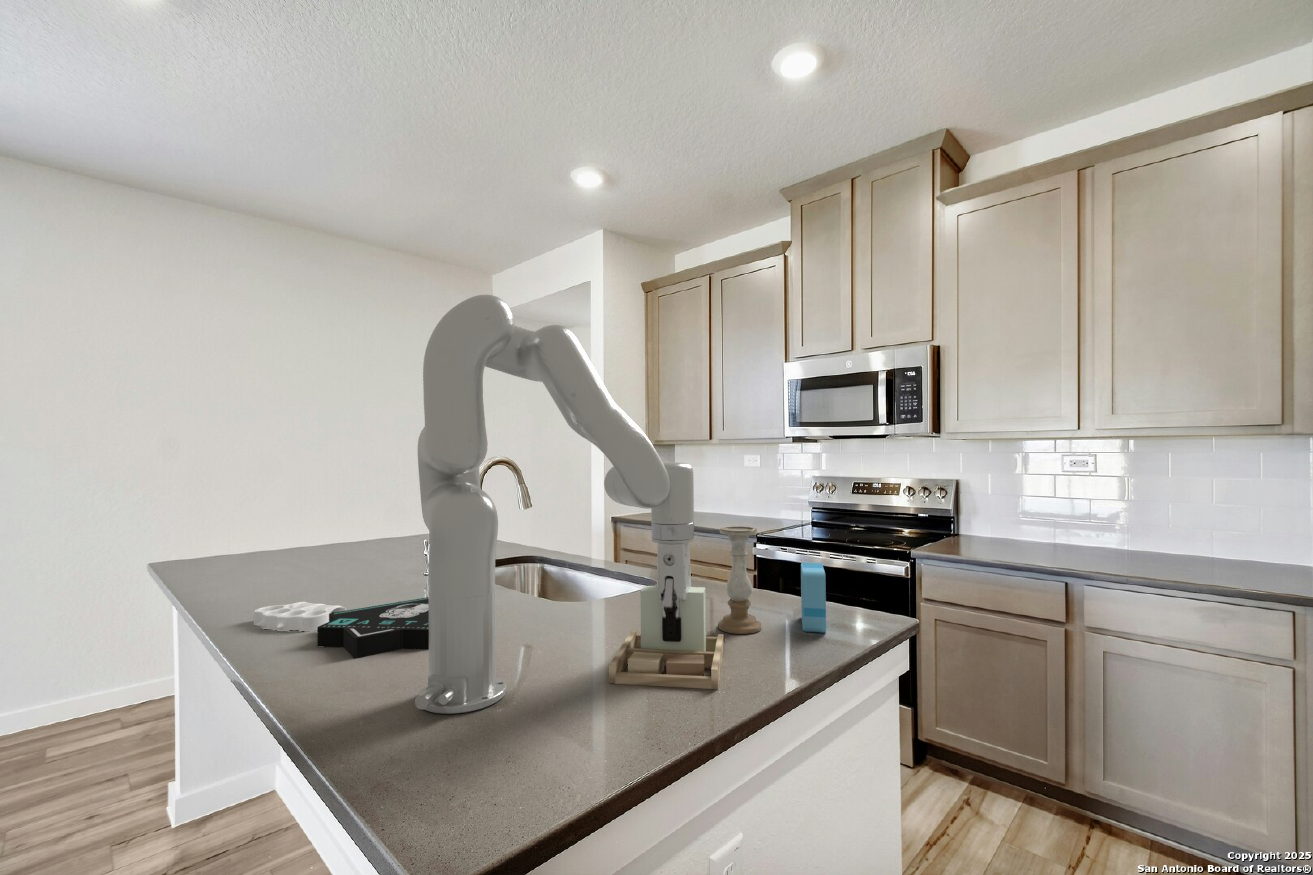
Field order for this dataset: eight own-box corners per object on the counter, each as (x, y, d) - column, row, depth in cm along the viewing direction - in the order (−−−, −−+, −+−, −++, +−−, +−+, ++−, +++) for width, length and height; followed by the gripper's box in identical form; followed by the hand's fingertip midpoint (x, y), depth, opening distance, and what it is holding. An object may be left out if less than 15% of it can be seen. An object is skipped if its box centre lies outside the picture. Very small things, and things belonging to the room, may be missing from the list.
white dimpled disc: (357, 619, 134) (297, 638, 120) (297, 612, 140) (234, 630, 126) (357, 604, 134) (297, 621, 120) (297, 597, 140) (234, 614, 126)
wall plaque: (436, 662, 106) (497, 615, 136) (436, 639, 106) (497, 597, 136) (276, 658, 109) (371, 613, 139) (276, 636, 109) (371, 595, 139)
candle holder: (720, 635, 119) (719, 531, 119) (715, 622, 127) (714, 525, 128) (765, 634, 119) (764, 531, 119) (756, 621, 128) (755, 525, 128)
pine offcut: (658, 680, 96) (658, 662, 96) (628, 678, 97) (627, 659, 97) (663, 671, 100) (663, 653, 100) (634, 669, 101) (634, 651, 101)
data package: (826, 634, 118) (825, 573, 119) (802, 633, 119) (801, 572, 119) (823, 617, 130) (822, 562, 130) (801, 616, 131) (800, 561, 131)
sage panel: (704, 663, 103) (703, 592, 103) (641, 660, 105) (640, 590, 105) (706, 655, 107) (705, 587, 107) (645, 652, 109) (644, 585, 109)
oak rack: (717, 689, 92) (717, 669, 92) (609, 683, 95) (609, 664, 95) (723, 651, 109) (723, 634, 109) (631, 646, 112) (631, 630, 112)
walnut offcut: (704, 682, 95) (704, 663, 95) (666, 681, 96) (666, 662, 96) (704, 673, 99) (703, 654, 99) (667, 672, 100) (667, 654, 100)
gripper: (688, 540, 98) (689, 653, 97) (698, 526, 114) (699, 623, 114) (643, 539, 99) (644, 651, 98) (659, 526, 115) (660, 622, 115)
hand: (673, 635), depth 106 cm, fingers closed on sage panel, 4 cm apart
